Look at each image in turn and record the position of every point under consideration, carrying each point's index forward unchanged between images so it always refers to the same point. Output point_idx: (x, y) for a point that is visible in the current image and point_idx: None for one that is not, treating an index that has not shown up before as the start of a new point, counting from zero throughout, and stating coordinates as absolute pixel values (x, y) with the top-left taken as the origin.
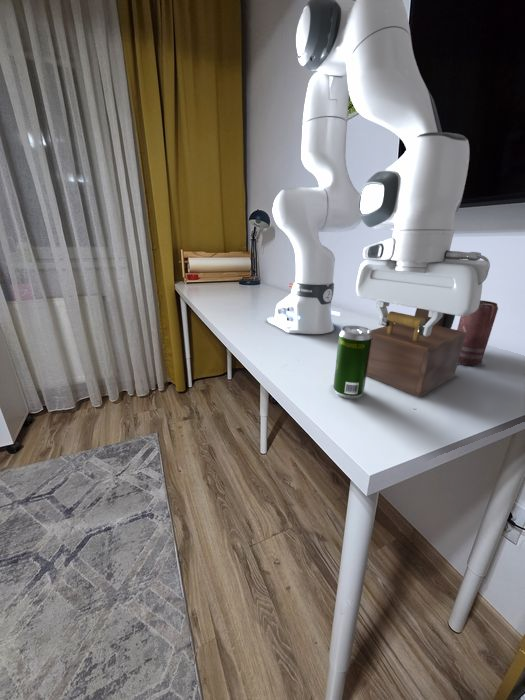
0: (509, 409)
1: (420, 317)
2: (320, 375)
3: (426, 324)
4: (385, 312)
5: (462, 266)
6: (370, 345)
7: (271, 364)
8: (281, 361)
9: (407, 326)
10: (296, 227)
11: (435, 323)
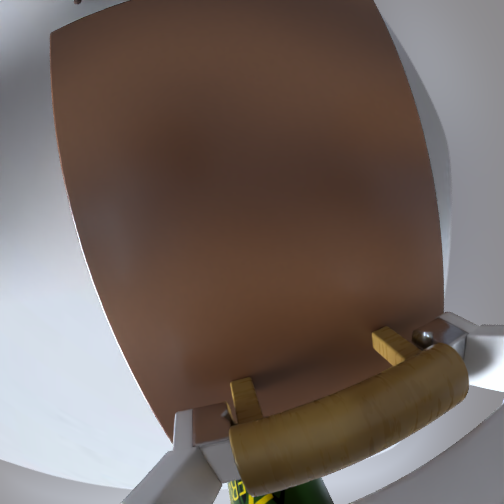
0: (435, 134)
1: (456, 398)
2: (153, 425)
3: (473, 383)
4: (198, 484)
5: None
6: (328, 494)
7: (83, 466)
8: (67, 447)
9: (156, 155)
10: None
11: (494, 327)
